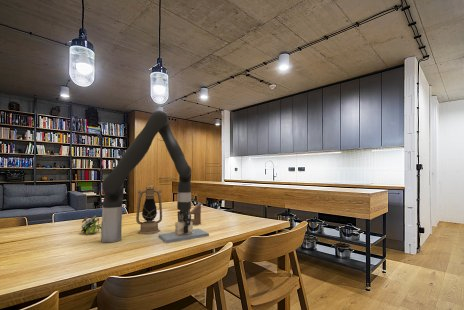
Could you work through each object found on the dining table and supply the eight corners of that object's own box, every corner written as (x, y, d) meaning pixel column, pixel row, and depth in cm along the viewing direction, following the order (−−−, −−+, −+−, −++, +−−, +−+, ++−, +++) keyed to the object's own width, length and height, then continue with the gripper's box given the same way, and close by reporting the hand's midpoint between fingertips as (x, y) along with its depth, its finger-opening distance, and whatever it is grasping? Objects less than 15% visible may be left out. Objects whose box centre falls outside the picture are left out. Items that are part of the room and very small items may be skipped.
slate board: (166, 243, 121) (166, 240, 121) (158, 237, 132) (158, 234, 132) (208, 235, 134) (208, 233, 135) (198, 231, 145) (198, 228, 145)
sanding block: (178, 235, 129) (178, 224, 129) (175, 233, 133) (175, 222, 134) (192, 233, 134) (192, 222, 134) (188, 231, 138) (188, 220, 138)
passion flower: (84, 242, 141) (84, 223, 147) (105, 237, 144) (104, 218, 151) (77, 235, 132) (78, 215, 138) (99, 230, 135) (99, 210, 142)
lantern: (135, 235, 135) (136, 181, 137) (136, 230, 147) (137, 180, 148) (162, 233, 140) (163, 181, 142) (161, 228, 151) (162, 180, 153)
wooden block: (200, 224, 163) (201, 197, 164) (185, 226, 158) (185, 198, 159) (198, 223, 166) (199, 196, 167) (183, 225, 161) (183, 197, 162)
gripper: (173, 199, 138) (172, 230, 137) (182, 202, 126) (182, 235, 125) (185, 198, 142) (185, 228, 141) (196, 201, 131) (195, 233, 129)
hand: (183, 231), depth 133 cm, fingers closed on sanding block, 5 cm apart
